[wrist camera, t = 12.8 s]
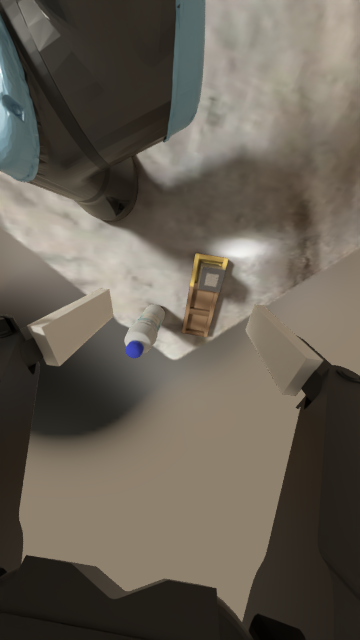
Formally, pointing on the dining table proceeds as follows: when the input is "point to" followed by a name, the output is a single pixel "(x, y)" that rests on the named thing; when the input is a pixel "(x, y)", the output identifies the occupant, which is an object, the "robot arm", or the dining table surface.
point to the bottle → (144, 331)
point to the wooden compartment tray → (200, 299)
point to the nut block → (210, 277)
